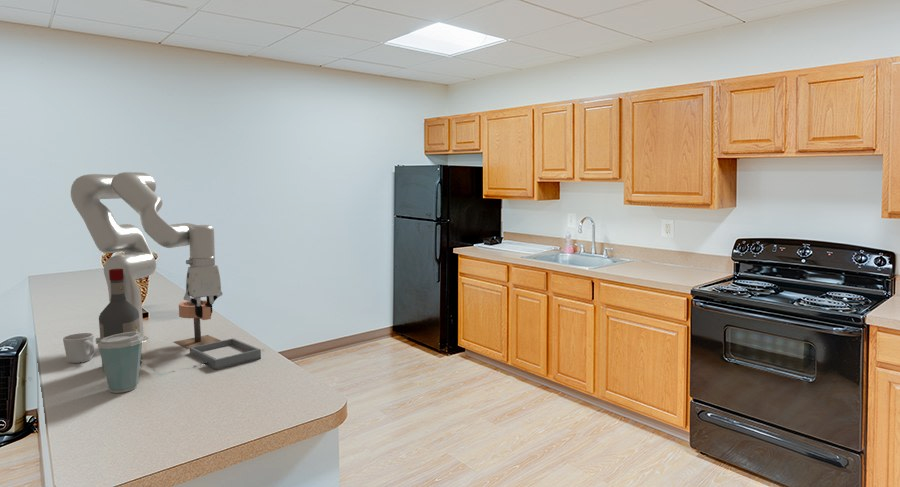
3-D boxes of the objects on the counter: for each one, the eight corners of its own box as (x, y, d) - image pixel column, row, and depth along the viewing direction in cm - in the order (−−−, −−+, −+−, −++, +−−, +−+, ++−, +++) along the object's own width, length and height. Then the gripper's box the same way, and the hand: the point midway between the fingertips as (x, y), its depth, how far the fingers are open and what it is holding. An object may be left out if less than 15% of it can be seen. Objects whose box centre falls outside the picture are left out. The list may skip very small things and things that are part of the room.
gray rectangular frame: (215, 369, 163) (215, 360, 163) (190, 356, 176) (189, 347, 175) (260, 358, 174) (260, 349, 174) (233, 346, 186) (233, 338, 186)
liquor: (144, 360, 172) (138, 266, 169) (132, 370, 163) (126, 271, 160) (112, 362, 171) (106, 267, 167) (99, 371, 162) (92, 272, 158)
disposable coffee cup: (98, 399, 141) (94, 342, 140) (102, 385, 151) (99, 332, 149) (145, 391, 146) (141, 337, 144) (146, 379, 156) (143, 328, 154)
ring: (191, 322, 177) (191, 310, 177) (174, 314, 187) (174, 302, 186) (221, 317, 185) (221, 305, 184) (204, 309, 194) (203, 298, 194)
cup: (106, 360, 172) (104, 335, 172) (80, 367, 165) (78, 342, 164) (85, 355, 177) (83, 331, 176) (59, 362, 170) (57, 337, 169)
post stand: (187, 352, 180) (185, 307, 178) (173, 345, 188) (170, 301, 186) (223, 344, 189) (221, 301, 187) (207, 338, 197) (205, 296, 195)
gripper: (182, 266, 172) (183, 322, 174) (231, 261, 184) (232, 314, 186) (172, 263, 177) (174, 318, 179) (221, 258, 189) (222, 310, 191)
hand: (204, 315), depth 183 cm, fingers closed on ring, 2 cm apart
